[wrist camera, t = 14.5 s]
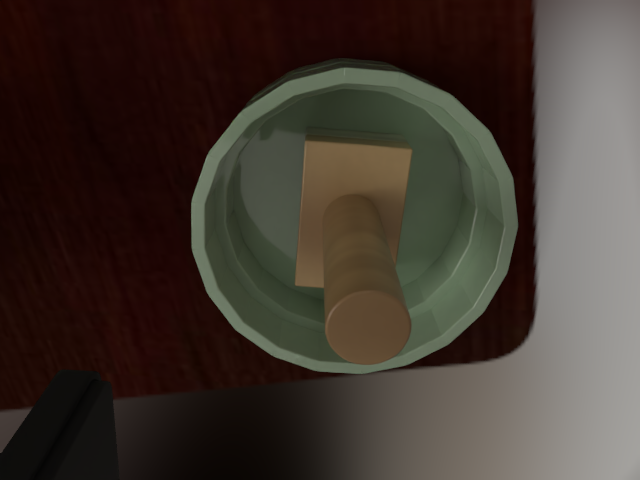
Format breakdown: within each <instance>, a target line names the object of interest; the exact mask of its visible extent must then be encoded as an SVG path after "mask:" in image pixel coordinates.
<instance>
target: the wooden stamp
mask: <svg viewBox="0 0 640 480" xmlns="http://www.w3.org/2000/svg"><path fill="white" fill-rule="evenodd" d="M412 153H413V150H412V148H411V146H410V145H409V144H408V142H407V140H406V139H405V137H404V136H403V135H402V134H390V133H377V132H365V131H353V130H341V129H328V128H316V127H307V128H306V135H305V146H304V160H303V173H302V187H301V201H300V215H299V229H298V243H297V257H296V270H295V286H302V287H316V288H324V311H325V334H326V338H327V341H328V343H329V345H330V346H331V348H332V349H333V350H334V351H335V352H336V353H337V354H338V355H339V356H340V357H342V358H343V359H345V360H347V361H349V362H352V363H355V364H360V365H374V364H379V363H382V362H385V361H387V360H389V359H391V358H393V357H394V356H396V355H397V354H398V353H399V352H400V351H401V350H402V349H403V348H404V346H405V345H406V343H407V341H408V339H409V337H410V333H411V318H410V314H409V311H408V308H407V304H406V301H405V298H404V295H403V291H402V288H401V285H400V282H399V278H398V275H397V272H396V262H397V255H398V248H399V241H400V235H401V228H402V221H403V214H404V207H405V200H406V194H407V187H408V180H409V173H410V166H411V159H412Z"/></svg>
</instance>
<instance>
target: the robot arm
mask: <svg viewBox="0 0 640 480" xmlns="http://www.w3.org/2000/svg"><path fill="white" fill-rule="evenodd" d="M0 480H119V469H118V456H117V444H116V432H115V421H114V409H113V396H112V387H111V384H110V382H108V381H101V376H100V374H99V373H98V372H95V371H78V370H60V371H59V372H58V373H57V374H56V375H55V377H54V378H53V379H52V381H51V382H50V384H49V385H48V387H47V388H46V390H45V391H44V392H43V394H42V395H41V397H40V398H39V400H38V401H37V402H36V404H35V405H34V407H33V408H32V410H31V411H30V413H29V414H28V415H27V417H26V418H25V420H24V421H23V423H22V424H21V426H20V427H19V429H18V430H17V431H16V433H15V434H14V436H13V437H12V439H11V440H10V441H9V443H8V444H7V446H6V447H5V449H4V450H3V452H2V453H0Z"/></svg>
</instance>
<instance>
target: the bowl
mask: <svg viewBox="0 0 640 480" xmlns="http://www.w3.org/2000/svg"><path fill="white" fill-rule="evenodd" d="M307 127H316V128H328V129H341V130H353V131H365V132H377V133H390V134H402V135H403V136H404V137H405V139H406V140H407V142H408V144H409V145H410V146H411V148H412V150H413V153H412V159H411V166H410V173H409V180H408V187H407V194H406V200H405V207H404V214H403V221H402V228H401V235H400V241H399V248H398V255H397V262H396V272H397V275H398V278H399V282H400V285H401V288H402V291H403V295H404V298H405V301H406V304H407V308H408V311H409V314H410V318H411V333H410V337H409V339H408V341H407V343H406V345H405V346H404V348H403V349H402V350H401V351H400V352H399V353H398V354H397V355H396V356H394V357H393V358H391V359H389V360H387V361H385V362H382V363H379V364H374V365H360V364H355V363H352V362H349V361H347V360H345V359H343V358H342V357H340V356H339V355H338V354H337V353H336V352H335V351H334V350H333V349H332V348H331V346H330V345H329V343H328V341H327V338H326V334H325V311H324V288H316V287H302V286H295V270H296V257H297V243H298V229H299V215H300V201H301V187H302V173H303V160H304V146H305V135H306V128H307ZM517 229H518V218H517V209H516V200H515V191H514V182H513V177H512V174H511V172H510V170H509V168H508V166H507V164H506V162H505V160H504V158H503V156H502V154H501V152H500V150H499V148H498V146H497V144H496V142H495V140H494V138H493V136H492V134H491V132H490V131H489V129H487V128H486V127H485V126H484V125H483V124H482V123H481V122H480V121H479V120H478V119H477V118H476V117H475V116H474V115H473V114H472V113H471V112H470V111H469V110H467V109H466V108H465V107H464V106H463V105H462V104H461V103H460V102H459V101H458V100H457V99H456V98H455V97H454V96H453V95H451V94H450V93H448V92H446V91H445V90H443V89H441V88H439V87H438V86H436V85H434V84H433V83H431V82H429V81H427V80H426V79H423V78H421V77H419V76H417V75H414V74H412V73H410V72H408V71H405V70H403V69H401V68H399V67H396V66H394V65H392V64H390V63H385V62H382V61H370V60H358V59H346V58H340V59H339V58H336V59H332V60H328V61H324V62H320V63H316V64H312V65H308V66H304V67H300V68H296V69H294V71H293V70H292V71H290V72H288V73H287V74H285V75H284V76H282V77H281V78H279V79H278V80H276V81H274V82H273V83H271V84H270V85H268V86H267V87H265V88H264V89H262V90H260V91H259V92H257V93H256V94H255V95H254V96H253V97H252V98H251V99H250V101H249V102H248V103H247V104H246V106H245V107H244V108H243V109H242V111H241V112H240V113H239V114H238V116H237V117H236V118H235V119H234V121H233V122H232V123H231V124H230V126H229V127H228V128H227V129H226V131H225V132H224V133H223V134H222V136H221V137H220V138H219V140H218V141H217V142H216V143H215V145H214V146H213V147H212V148H211V150H210V151H209V153H208V154H207V157H206V160H205V163H204V165H203V168H202V171H201V174H200V177H199V180H198V183H197V186H196V189H195V192H194V195H193V197H192V202H191V233H192V252H193V255H194V257H195V260H196V263H197V266H198V269H199V272H200V274H201V277H202V280H203V283H204V286H205V288H206V291H207V293H208V295H209V296H210V298H211V299H212V300H213V302H214V303H215V304H216V305H217V307H218V308H219V309H220V311H221V312H222V313H223V314H224V316H225V317H226V318H227V320H228V321H229V322H230V324H231V325H232V326H233V327H234V329H236V331H238V332H239V333H240V334H242V335H243V336H245V337H246V338H248V339H249V340H250V341H252V342H253V343H255V344H256V345H258V346H259V347H260V348H262V349H263V350H265V351H266V352H267V353H269V354H270V355H272V356H274V357H276V358H279V359H282V360H285V361H288V362H291V363H294V364H297V365H300V366H302V367H305V368H308V369H311V370H314V371H321V372H337V373H352V374H361V373H362V374H365V373H370V372H375V371H380V370H385V369H390V368H395V367H400V366H405V365H407V364H410V363H412V362H414V361H416V360H418V359H420V358H422V357H424V356H426V355H428V354H430V353H432V352H434V351H436V350H438V349H440V348H442V347H444V346H446V345H448V343H451V342H452V341H453V340H454V339H455V338H456V337H457V336H458V335H460V334H461V333H462V332H463V331H464V330H465V329H466V328H467V327H468V326H469V325H471V324H472V323H473V322H474V321H475V320H476V319H477V318H478V317H479V316H480V315H481V314H482V313H483V312H484V311H485V309H486V308H487V306H488V304H489V303H490V301H491V299H492V298H493V296H494V294H495V293H496V291H497V289H498V288H499V286H500V284H501V283H502V281H503V279H504V278H505V276H506V274H507V271H508V268H509V264H510V260H511V255H512V251H513V246H514V242H515V238H516V233H517Z"/></svg>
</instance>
